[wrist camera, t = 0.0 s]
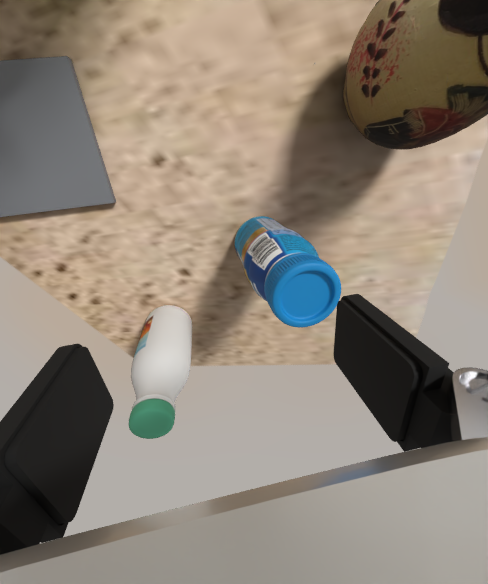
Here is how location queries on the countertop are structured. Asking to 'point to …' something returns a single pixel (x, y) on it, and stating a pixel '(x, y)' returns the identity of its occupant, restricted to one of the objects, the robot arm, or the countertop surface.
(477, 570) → the robot arm
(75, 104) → the charcoal mat
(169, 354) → the milk bottle
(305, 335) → the countertop surface
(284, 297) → the beverage bottle
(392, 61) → the ceramic jug
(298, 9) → the countertop surface
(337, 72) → the countertop surface
